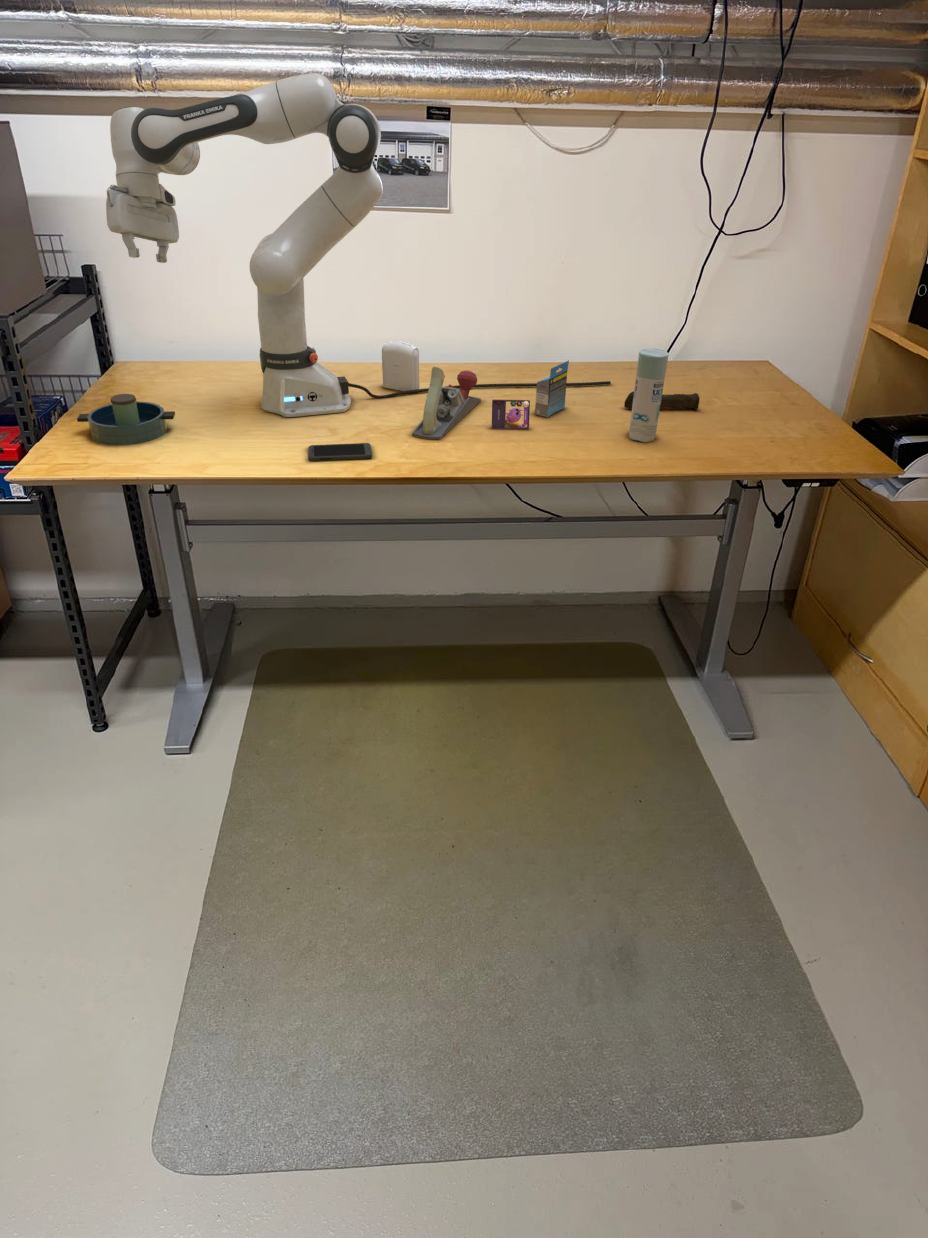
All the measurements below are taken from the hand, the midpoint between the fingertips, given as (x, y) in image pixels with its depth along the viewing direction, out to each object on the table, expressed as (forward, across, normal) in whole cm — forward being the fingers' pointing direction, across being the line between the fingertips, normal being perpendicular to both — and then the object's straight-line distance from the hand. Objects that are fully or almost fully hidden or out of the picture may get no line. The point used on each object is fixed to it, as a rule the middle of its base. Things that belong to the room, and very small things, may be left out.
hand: (148, 259), depth 192 cm
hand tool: (+39, +57, -106) cm, 127 cm away
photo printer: (+31, +46, -40) cm, 68 cm away
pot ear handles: (+34, -6, +7) cm, 35 cm away
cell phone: (+44, +2, -42) cm, 61 cm away
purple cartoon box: (+41, +32, -73) cm, 90 cm away
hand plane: (+38, +32, -58) cm, 76 cm away
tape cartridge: (+38, +45, -80) cm, 100 cm away
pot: (+37, -5, +8) cm, 38 cm away
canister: (+37, -5, +8) cm, 38 cm away
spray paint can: (+45, +37, -104) cm, 119 cm away
